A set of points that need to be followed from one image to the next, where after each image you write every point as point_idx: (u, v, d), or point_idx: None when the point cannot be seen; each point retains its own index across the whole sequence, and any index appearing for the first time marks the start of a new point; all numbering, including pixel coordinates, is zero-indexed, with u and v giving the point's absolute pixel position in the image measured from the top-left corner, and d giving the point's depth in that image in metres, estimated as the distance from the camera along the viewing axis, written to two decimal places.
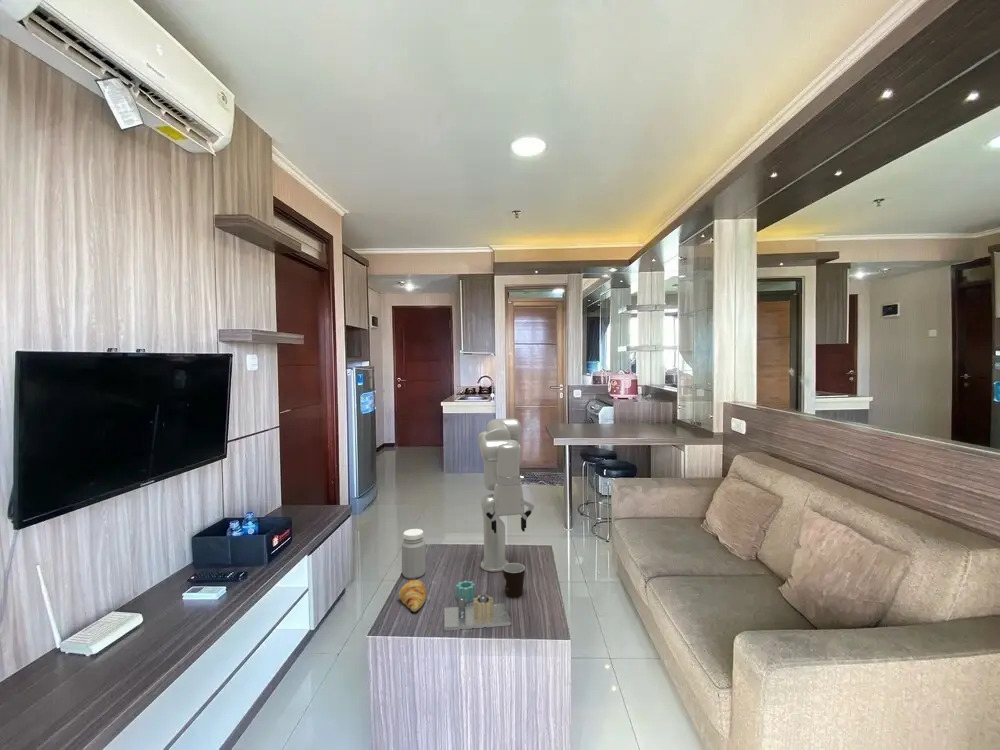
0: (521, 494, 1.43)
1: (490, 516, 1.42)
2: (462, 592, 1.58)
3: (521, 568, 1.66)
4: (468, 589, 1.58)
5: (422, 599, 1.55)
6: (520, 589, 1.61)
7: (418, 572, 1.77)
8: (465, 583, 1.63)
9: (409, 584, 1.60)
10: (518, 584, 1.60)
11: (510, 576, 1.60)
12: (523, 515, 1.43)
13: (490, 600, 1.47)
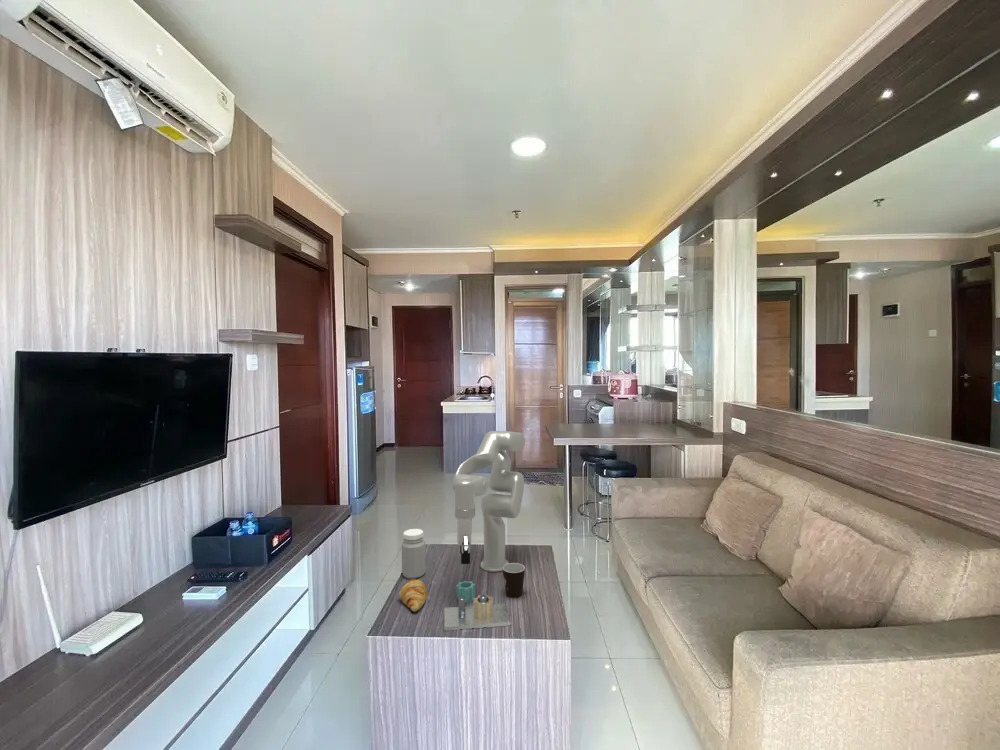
0: None
1: None
2: (462, 592, 1.58)
3: (521, 568, 1.66)
4: (468, 589, 1.58)
5: (422, 599, 1.55)
6: (520, 589, 1.61)
7: (418, 572, 1.77)
8: (465, 583, 1.63)
9: (410, 584, 1.60)
10: (518, 584, 1.60)
11: (510, 576, 1.60)
12: None
13: (490, 600, 1.47)
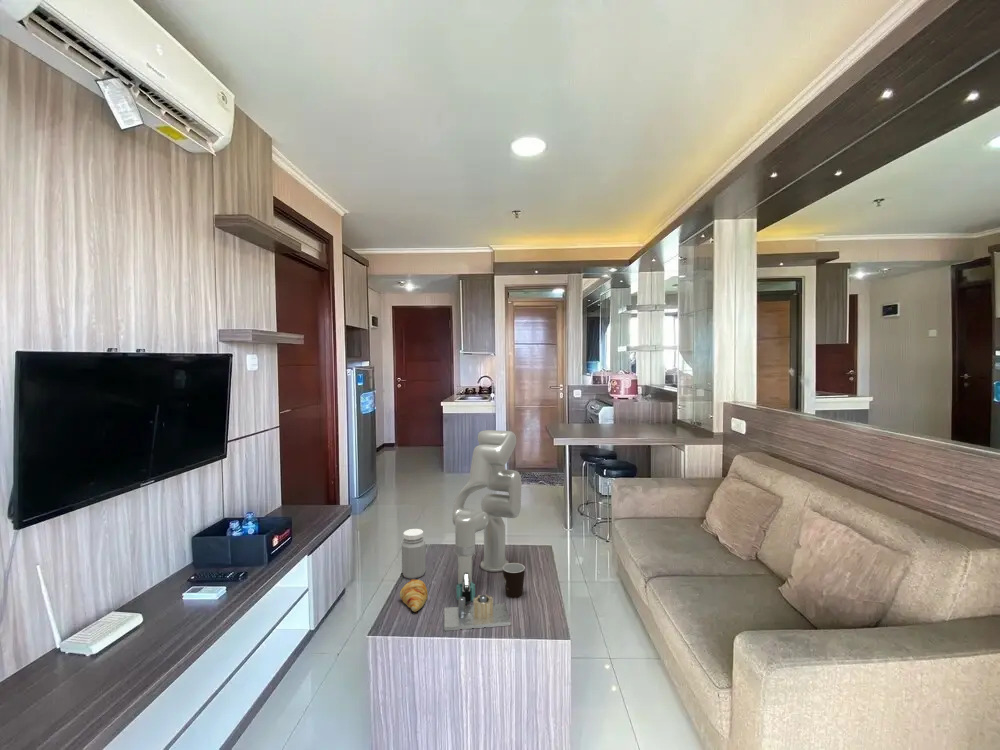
0: None
1: None
2: None
3: (521, 568, 1.66)
4: None
5: (423, 599, 1.55)
6: (520, 589, 1.61)
7: (418, 572, 1.77)
8: None
9: (410, 584, 1.60)
10: (518, 584, 1.60)
11: (510, 576, 1.60)
12: None
13: (490, 600, 1.47)
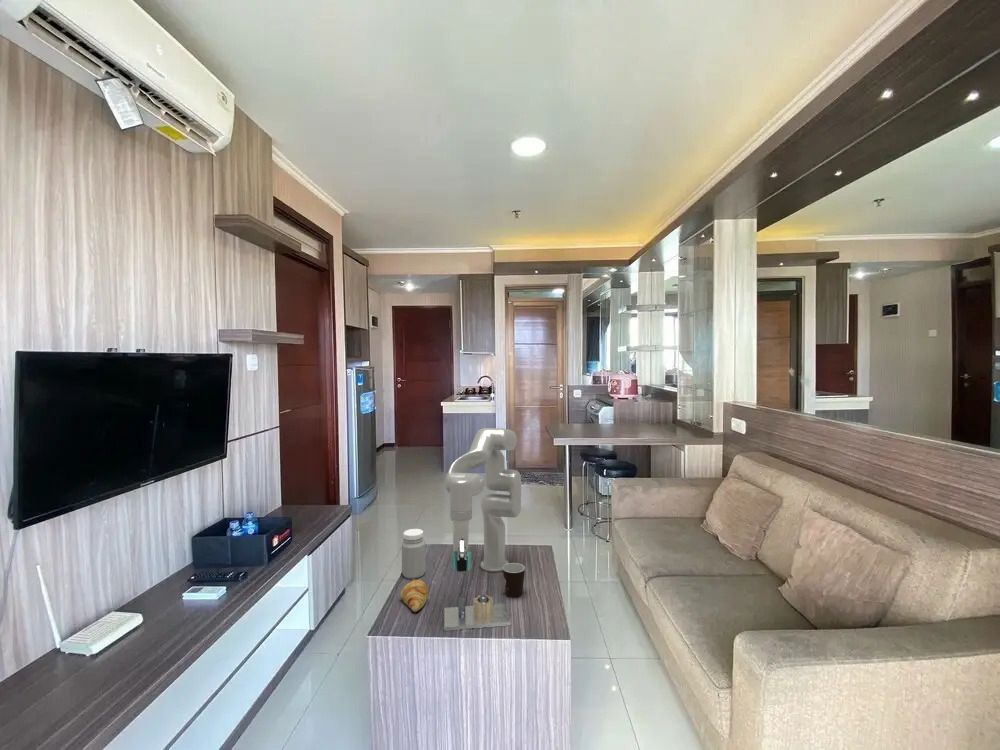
0: None
1: None
2: None
3: (521, 568, 1.66)
4: None
5: (423, 599, 1.55)
6: (520, 589, 1.61)
7: (418, 572, 1.77)
8: None
9: (411, 584, 1.60)
10: (518, 584, 1.60)
11: (510, 576, 1.60)
12: (464, 546, 1.51)
13: (490, 600, 1.47)
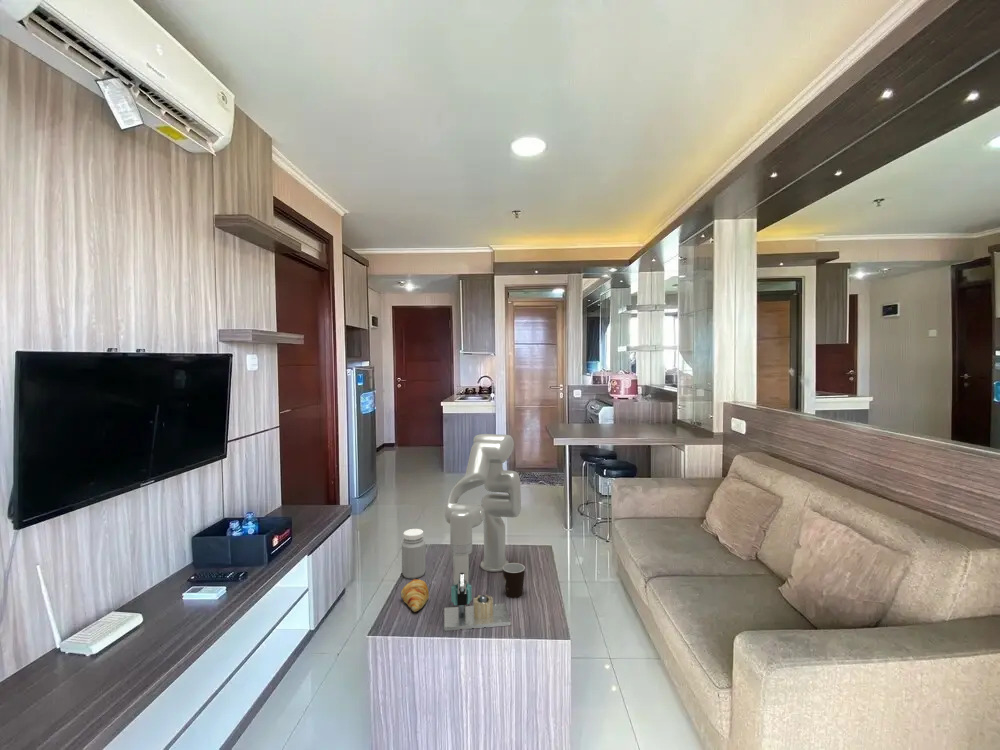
0: None
1: (464, 590, 1.42)
2: None
3: (521, 568, 1.66)
4: None
5: (423, 599, 1.55)
6: (520, 589, 1.61)
7: (418, 572, 1.77)
8: None
9: (411, 584, 1.60)
10: (518, 584, 1.60)
11: (510, 576, 1.60)
12: None
13: (490, 600, 1.47)
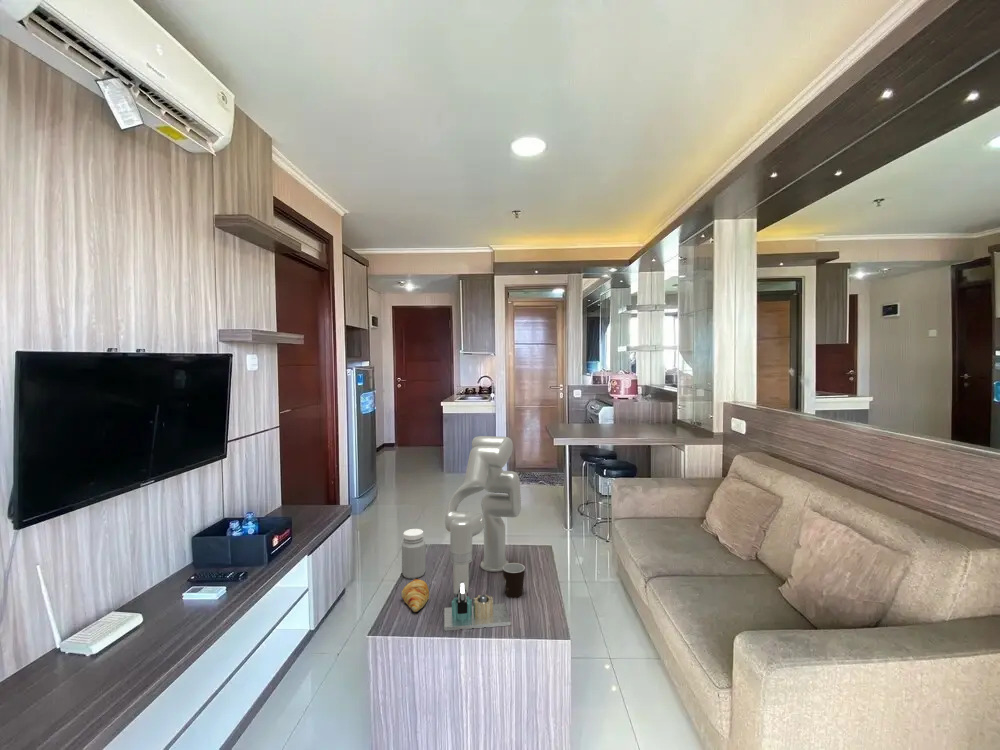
0: None
1: None
2: None
3: (521, 568, 1.66)
4: None
5: (424, 599, 1.55)
6: (520, 589, 1.61)
7: (418, 572, 1.77)
8: None
9: (412, 584, 1.60)
10: (518, 584, 1.60)
11: (510, 576, 1.60)
12: None
13: (490, 600, 1.47)
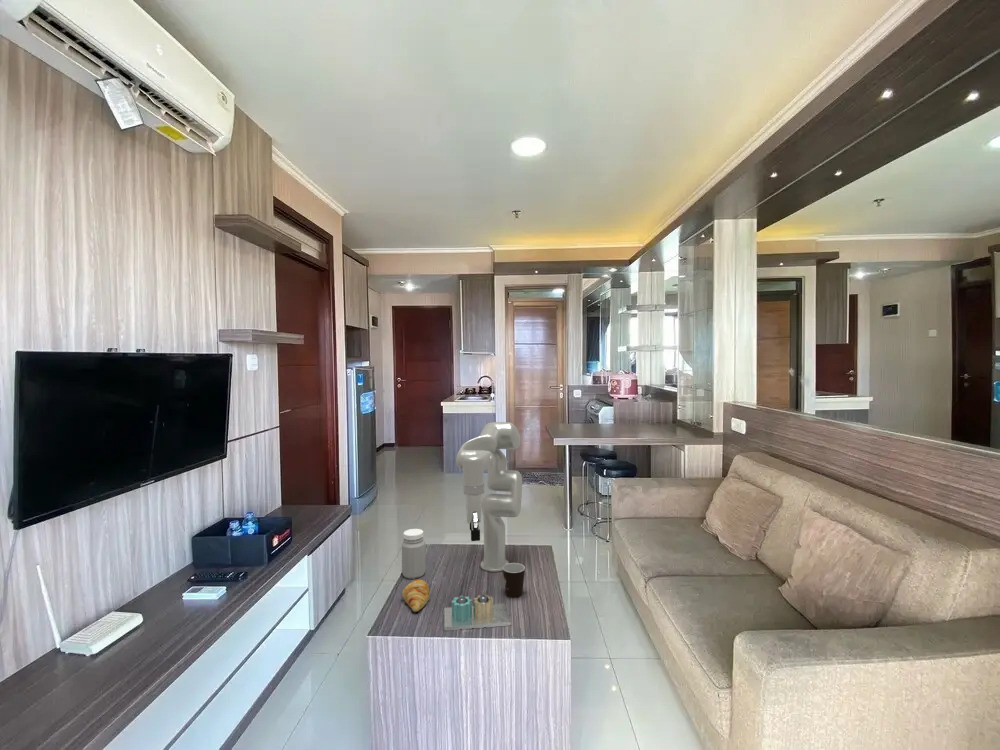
0: None
1: None
2: (458, 609, 1.44)
3: (521, 568, 1.66)
4: (464, 605, 1.44)
5: (424, 599, 1.55)
6: (520, 589, 1.61)
7: (418, 572, 1.77)
8: None
9: (412, 584, 1.60)
10: (518, 584, 1.60)
11: (510, 576, 1.60)
12: None
13: (490, 600, 1.47)
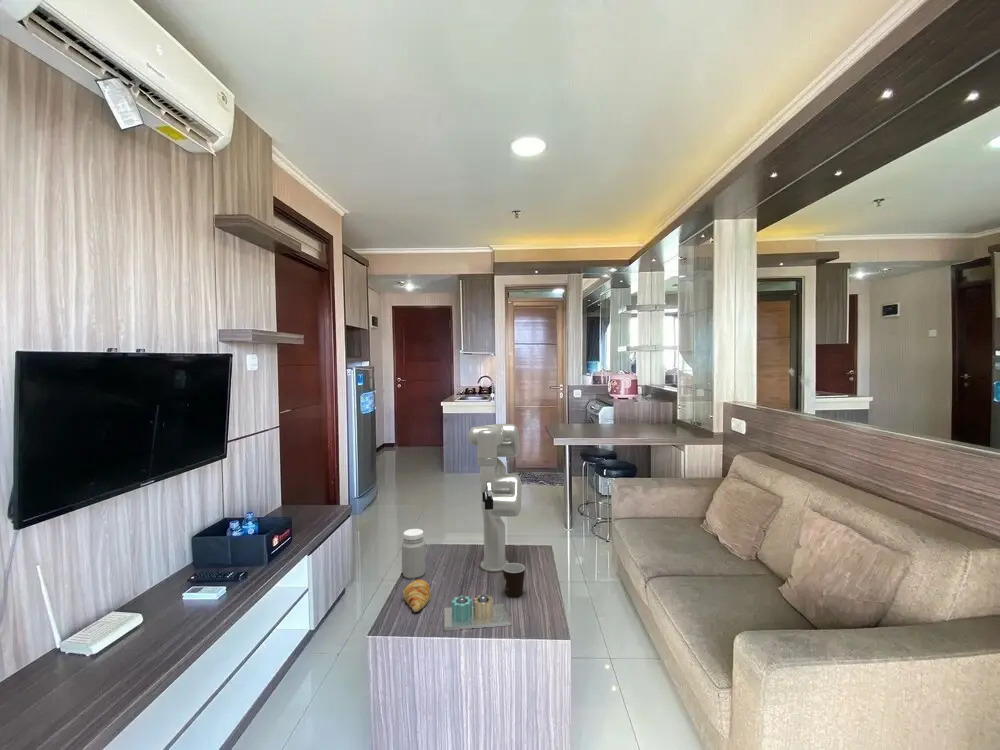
0: None
1: None
2: (458, 609, 1.44)
3: (521, 568, 1.66)
4: (464, 605, 1.44)
5: (424, 600, 1.55)
6: (520, 589, 1.61)
7: (418, 572, 1.77)
8: None
9: (413, 584, 1.60)
10: (518, 584, 1.60)
11: (510, 576, 1.60)
12: None
13: (490, 600, 1.47)
